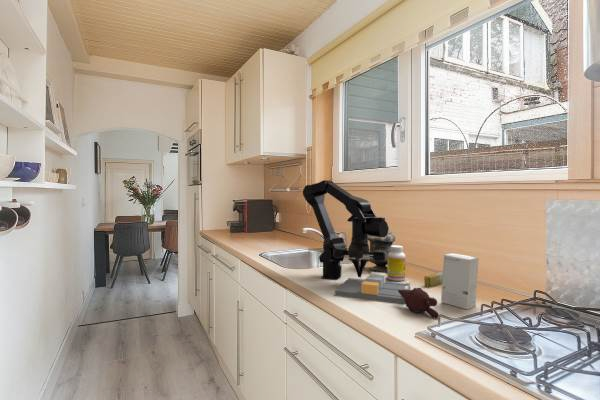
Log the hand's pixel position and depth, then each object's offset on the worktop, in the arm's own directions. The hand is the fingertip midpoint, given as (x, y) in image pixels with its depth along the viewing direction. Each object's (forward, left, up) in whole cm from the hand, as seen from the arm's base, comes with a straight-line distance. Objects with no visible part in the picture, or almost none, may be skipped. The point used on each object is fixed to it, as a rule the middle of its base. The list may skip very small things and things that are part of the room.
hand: (359, 277), depth 124 cm
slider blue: (+7, -7, -1) cm, 10 cm away
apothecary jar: (+4, +26, -3) cm, 26 cm away
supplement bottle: (+12, +13, -3) cm, 18 cm away
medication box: (+26, +12, -3) cm, 29 cm away
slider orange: (+7, -14, -1) cm, 15 cm away
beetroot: (+21, -21, -3) cm, 30 cm away
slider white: (+7, 0, -1) cm, 7 cm away
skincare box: (+33, -10, -3) cm, 34 cm away
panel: (+7, -7, -3) cm, 10 cm away
